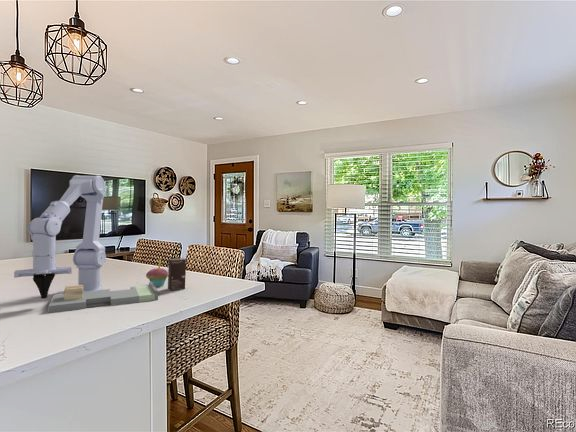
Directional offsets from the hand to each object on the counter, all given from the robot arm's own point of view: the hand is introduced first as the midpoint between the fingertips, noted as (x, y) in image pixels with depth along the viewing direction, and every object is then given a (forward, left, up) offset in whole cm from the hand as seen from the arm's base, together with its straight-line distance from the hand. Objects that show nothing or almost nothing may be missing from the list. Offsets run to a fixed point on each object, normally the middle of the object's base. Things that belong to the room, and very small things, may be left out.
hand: (44, 297), depth 102 cm
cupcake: (-14, +36, -3) cm, 39 cm away
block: (0, +8, -1) cm, 8 cm away
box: (-5, +42, -3) cm, 42 cm away
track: (0, +17, -3) cm, 17 cm away
